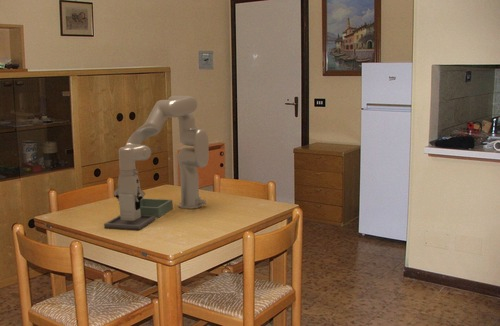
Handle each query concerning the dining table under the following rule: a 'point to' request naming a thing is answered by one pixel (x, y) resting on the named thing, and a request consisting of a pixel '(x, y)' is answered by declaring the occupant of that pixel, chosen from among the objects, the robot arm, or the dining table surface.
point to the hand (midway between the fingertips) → (130, 208)
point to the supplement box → (128, 207)
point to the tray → (130, 223)
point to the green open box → (155, 207)
